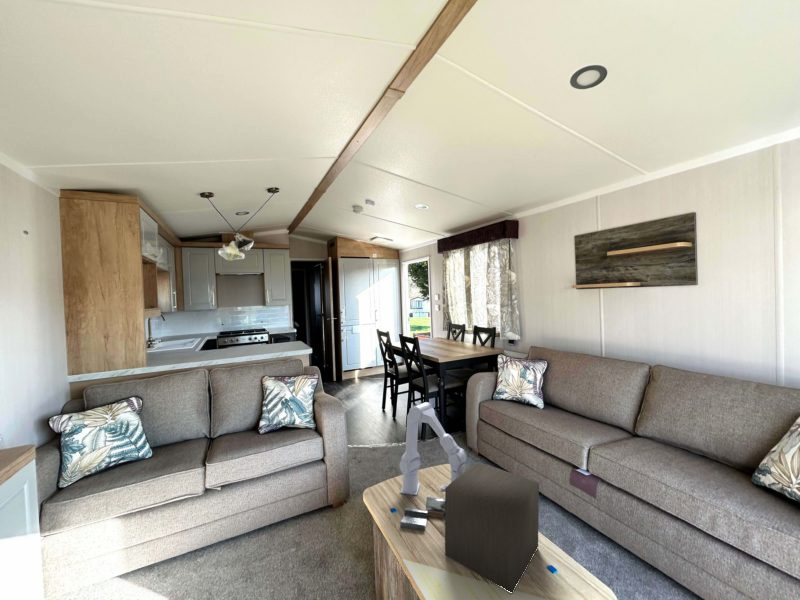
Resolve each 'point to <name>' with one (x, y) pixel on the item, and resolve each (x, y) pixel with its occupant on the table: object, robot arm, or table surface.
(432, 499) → the grey metal cylinder
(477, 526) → the wood block
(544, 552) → the table surface
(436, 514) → the brown piece
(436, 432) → the robot arm
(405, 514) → the cradle
